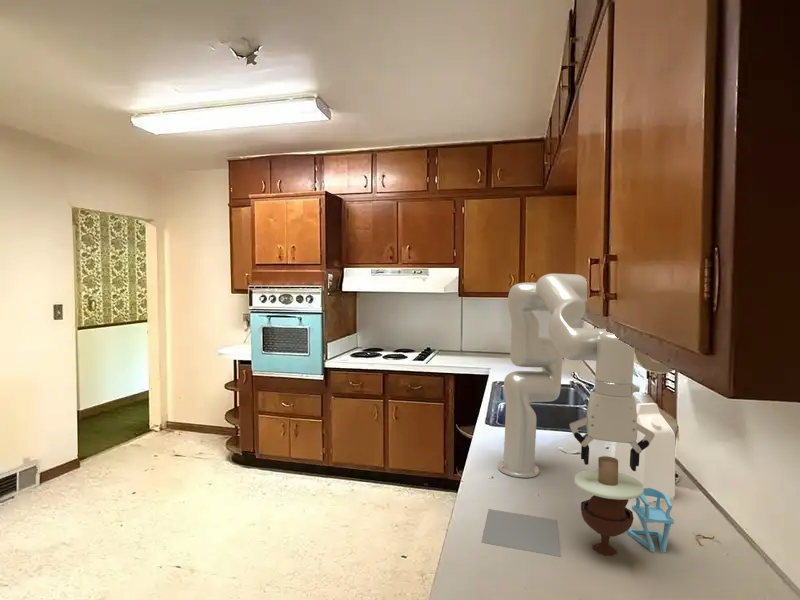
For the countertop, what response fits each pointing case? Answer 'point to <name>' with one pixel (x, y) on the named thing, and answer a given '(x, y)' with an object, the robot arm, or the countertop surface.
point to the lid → (608, 481)
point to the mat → (522, 532)
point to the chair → (652, 519)
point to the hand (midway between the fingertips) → (609, 465)
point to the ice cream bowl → (606, 520)
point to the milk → (651, 453)
